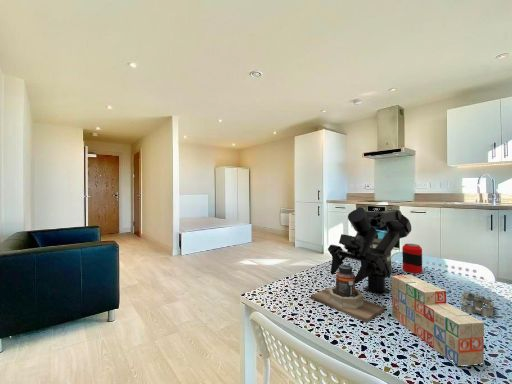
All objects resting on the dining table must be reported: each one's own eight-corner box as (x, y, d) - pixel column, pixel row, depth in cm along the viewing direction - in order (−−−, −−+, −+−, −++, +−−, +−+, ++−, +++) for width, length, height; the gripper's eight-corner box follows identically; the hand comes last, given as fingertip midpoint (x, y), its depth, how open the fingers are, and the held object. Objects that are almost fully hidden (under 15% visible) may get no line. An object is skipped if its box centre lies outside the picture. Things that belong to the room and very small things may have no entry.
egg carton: (493, 321, 69) (493, 306, 69) (458, 311, 74) (458, 298, 74) (495, 308, 76) (495, 295, 76) (463, 300, 81) (463, 288, 81)
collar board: (329, 290, 90) (329, 279, 90) (384, 310, 75) (384, 297, 75) (310, 298, 84) (310, 286, 84) (366, 322, 68) (366, 308, 68)
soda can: (399, 268, 115) (399, 243, 115) (416, 268, 114) (416, 243, 114) (407, 273, 108) (407, 246, 108) (425, 274, 107) (425, 247, 106)
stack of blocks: (485, 366, 51) (484, 308, 51) (458, 368, 50) (457, 309, 50) (410, 314, 72) (410, 273, 72) (391, 316, 72) (390, 274, 72)
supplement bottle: (357, 306, 76) (357, 270, 76) (337, 304, 77) (337, 269, 77) (353, 297, 82) (353, 264, 81) (335, 296, 83) (334, 263, 83)
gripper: (330, 222, 89) (309, 256, 83) (379, 229, 73) (356, 272, 67) (344, 241, 93) (325, 275, 88) (393, 251, 77) (373, 293, 72)
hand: (342, 278), depth 78 cm, fingers open, 9 cm apart
